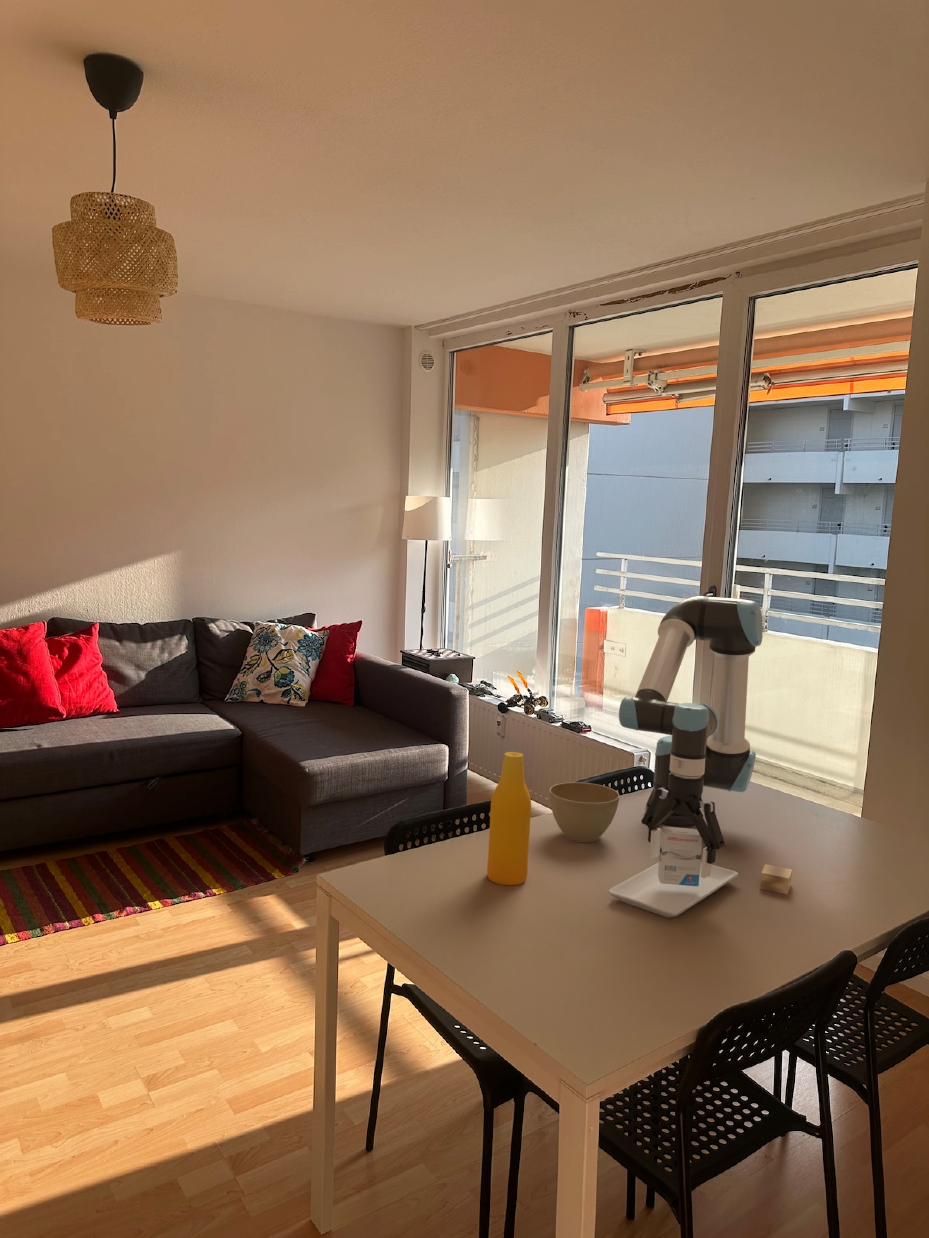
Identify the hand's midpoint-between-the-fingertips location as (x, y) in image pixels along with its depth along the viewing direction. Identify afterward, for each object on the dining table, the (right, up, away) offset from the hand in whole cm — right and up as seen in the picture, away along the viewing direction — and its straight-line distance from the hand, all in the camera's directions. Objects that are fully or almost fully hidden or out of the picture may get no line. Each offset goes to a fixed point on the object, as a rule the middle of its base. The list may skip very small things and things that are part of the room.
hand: (679, 866), depth 199 cm
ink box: (0, -4, +1) cm, 4 cm away
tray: (-1, -7, +1) cm, 7 cm away
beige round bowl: (-17, -2, +34) cm, 38 cm away
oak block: (+24, -7, +7) cm, 26 cm away
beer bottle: (-38, -4, +5) cm, 39 cm away
